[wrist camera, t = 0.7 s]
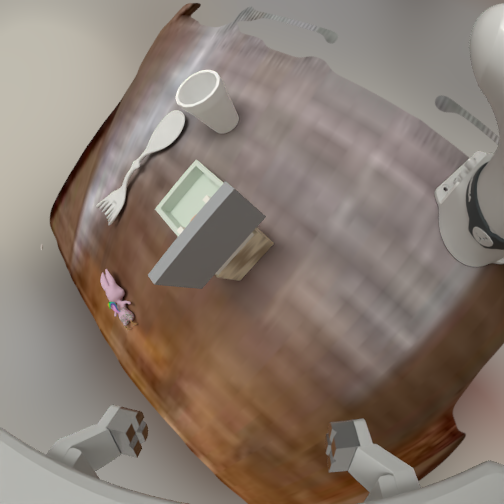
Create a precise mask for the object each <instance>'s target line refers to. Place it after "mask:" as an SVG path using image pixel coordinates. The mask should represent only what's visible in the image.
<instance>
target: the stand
mask: <svg viewBox="0 0 504 504" xmlns="http://www.w3.org/2000/svg"><path fill="white" fill-rule="evenodd" d="M252 233H253V234H255V235H254V236H253V237H252V238H251V239H250V240H249V241H248V242H247V243H246V245H245V246H244V247H243V248H242V249H241V250H240V251H239V252H238V253H237V255H236V256H235V257H234V258H233V259H232V260H231V261H230V262H229V264H228V265H227V266H226V267H225V268H224V269H223V270H222V271H221V273H220V274H219V275H217V274H214V275H215V276H216V277H218V278H224V279H231V280H237V281H240V280H241V279H242V278H243V277H244V276H245V275H246V274H247V273H248V272H249V271H250V269H251V268H252V267H253V266H254V265H255V264H256V263H257V262H258V261H259V260H260V258H261V257H262V256H263V255H264V254H265V253H266V252H267V251H268V250H269V249H270V247H271V246H272V245H273V244H274V243H273V242H272V241H271V240H270V239H269V238H268V237H267V236H266V235H265V234H264V233H262V232H261V231H260V230H259V229H258V228H257V227H256V228H255V230H254V231H253V232H252Z"/></svg>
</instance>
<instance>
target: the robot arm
mask: <svg viewBox="0 0 504 504" xmlns="http://www.w3.org/2000/svg"><path fill="white" fill-rule="evenodd" d="M470 59H471V65H472V69H473V73H474V76H475V78H476V81H477V84H478V86H479V88H480V89H481V90H482V92H483V94H484V95H485V96H486V98H487V100H488V102H489V103H490V105H491V107H492V110H493V112H494V115H495V118H496V121H497V124H498V128H499V135H500V140H499V145H498V148H497V150H496V151H495V153H491V152H489V153H488V154H487V153H485V152H482V151H477V152H475V153H474V154H473V155H472V156H471V157H470V158H469V159H468V160H467V161H466V162H465V163H464V164H463V165H462V166H461V167H460V168H458V169H457V170H456V171H455V172H454V173H453V174H452V175H451V176H450V177H449V178H448V179H446V180H445V181H444V182H443V183H442V184H441V185H440V186H439V187H438V188H436V190H435V192H434V194H435V199H436V202H437V204H438V207H439V228H440V233H441V236H442V239H443V241H444V244H445V246H446V247H447V249H448V250H449V252H450V253H451V254H452V255H453V256H454V257H455V258H456V259H457V260H458V261H459V262H461V263H463V264H465V265H467V266H471V267H481V266H485V265H487V264H490V263H495V264H504V3H503V4H498V5H494V6H492V7H490V8H488V9H487V10H485V11H484V12H483V13H482V14H481V15H480V16H479V18H478V19H477V20H476V22H475V24H474V26H473V29H472V32H471V37H470ZM444 188H445V189H446V190H447V192H446V191H444ZM143 418H144V416H143V413H142V412H140V411H137V410H132V409H128V408H124V407H120V406H116V405H111V406H110V407H109V408H108V410H107V411H106V413H105V414H104V416H103V417H102V418H101V420H100V421H99V422H98V424H97V425H92V426H90V427H88V428H85V429H83V430H81V431H78V432H76V433H73V434H71V435H68V436H66V437H63V438H61V439H58V440H57V441H56V442H55V444H54V445H53V446H52V448H51V449H50V450H49V451H48V453H47V454H46V455H45V454H44V453H42V452H40V451H38V450H36V449H35V448H33V447H31V446H29V445H28V444H26V443H24V442H23V441H21V440H20V439H18V438H16V437H15V436H13V435H12V434H10V433H9V432H7V431H6V430H4V429H3V428H1V427H0V504H188V503H182V502H177V501H172V500H167V499H163V498H159V497H155V496H150V495H147V494H143V493H139V492H136V491H133V490H129V489H126V488H123V487H120V486H117V485H114V484H111V483H109V482H106V481H103V480H100V479H99V477H98V476H97V474H96V473H95V471H97V470H98V469H100V468H102V467H103V466H105V465H106V464H108V463H109V462H111V461H112V460H114V459H115V458H117V457H118V456H120V455H121V454H125V455H128V456H132V457H138V455H139V453H140V451H141V449H142V446H141V443H143V442H145V441H146V438H147V436H148V427H147V424H146V423H145V422H144V421H143ZM325 451H326V454H327V455H328V459H327V464H328V471H329V472H339V471H348V472H349V473H350V474H351V475H352V476H353V477H354V478H355V479H356V480H357V481H358V482H359V483H360V484H361V485H363V486H364V487H365V488H366V489H367V490H368V491H369V492H370V494H369V495H368V497H367V498H366V500H365V501H364V503H358V504H504V465H502V464H499V463H497V462H494V461H486V462H483V463H481V464H479V465H477V466H474V467H472V468H470V469H468V470H466V471H464V472H461V473H459V474H457V475H454V476H452V477H449V478H447V479H444V480H442V481H439V482H437V483H434V484H431V485H428V486H425V487H422V488H421V487H420V484H419V482H418V479H417V477H416V474H415V472H414V469H413V468H412V467H411V466H409V465H408V464H406V463H404V462H403V461H401V460H400V459H398V458H397V457H395V456H394V455H392V454H391V453H389V452H388V451H386V450H385V449H383V448H382V447H380V446H379V445H377V444H373V442H372V439H371V436H370V433H369V430H368V427H367V425H366V422H365V420H364V419H356V420H347V421H339V422H330V423H329V425H328V434H326V438H325Z"/></svg>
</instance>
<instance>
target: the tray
mask: <svg viewBox="0 0 504 504" xmlns="http://www.w3.org/2000/svg"><path fill="white" fill-rule="evenodd" d="M222 185H223V182H222V181H221V180H220V179H219V178H218V177H216V176H215V175H214V174H213V173H212V172H211V171H209V170H208V169H207V168H206V167H205V166H204V165H202V164H201V163H200V162H199V161H198V160H195V161H194V163H193V164H192V165H191V166H190V167H189V168H188V170H187V171H186V172H185V173H184V174H183V175H182V177H181V178H180V179H179V180H178V181H177V183H176V184H175V185H174V186H173V187H172V189H171V190H170V191H169V192H168V194H167V195H166V196H165V197H164V199H163V200H162V201H161V202H160V204H159V205H158V206H157V207H156V209H155V210H156V211H157V212H158V213H159V214H160V216H161V217H162V218H163V219H164V221H165V222H166V223H167V224H168V225H169V227H170V228H171V229H172V230H173V231H174V232H175V234H176V235H177V236H179V235H180V234H179V233H178V232H177V230H178V228H179V227H180V226H182V227H185V228H186V227H187V225H188V224H189V223H190V221H191V219H192V218H193V217H194V216H195V215H196V214H197V213H198V212H199V211H200V210H201V209H202V208H203V206H204V205H205V204H206V203H205V202H204V201H203V198H204V197H205V196H206V195H208V196H209V197H212V196H213V195H214V194H215V192H216V191H217V190H218V189H219V188H220V187H221V186H222Z"/></svg>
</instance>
